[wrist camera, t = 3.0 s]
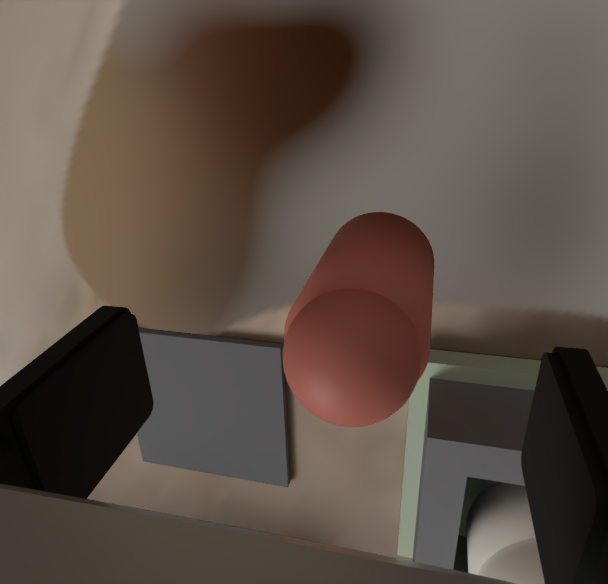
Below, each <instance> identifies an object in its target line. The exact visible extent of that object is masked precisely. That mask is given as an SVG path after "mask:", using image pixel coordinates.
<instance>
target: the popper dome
mask: <svg viewBox="0 0 608 584" xmlns="http://www.w3.org/2000/svg"><path fill="white" fill-rule="evenodd" d="M466 532H467V553H468V573H471V574H476V575H480V576H485V577H490V578H494V579H499V580H504V581H508V582H512V583H516V584H545V581H544V576H543V572H542V567H541V562H540V557H539V552H538V547H537V542H536V537H535V532H534V527H533V522H532V517H531V512H530V507H529V503H528V498H527V493H526V488H525V486H522V485H516V484H510V483H503V482H496V483H495V484H493V485H491V486H489V487H488V488H487V489H485V490H484V491H483V492H482V493H481V494H480V495H479V496H478V497H477V498H476V499H475V500H474V502H473V503H472V505H471V507H470V509H469V511H468V515H467V520H466Z"/></svg>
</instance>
